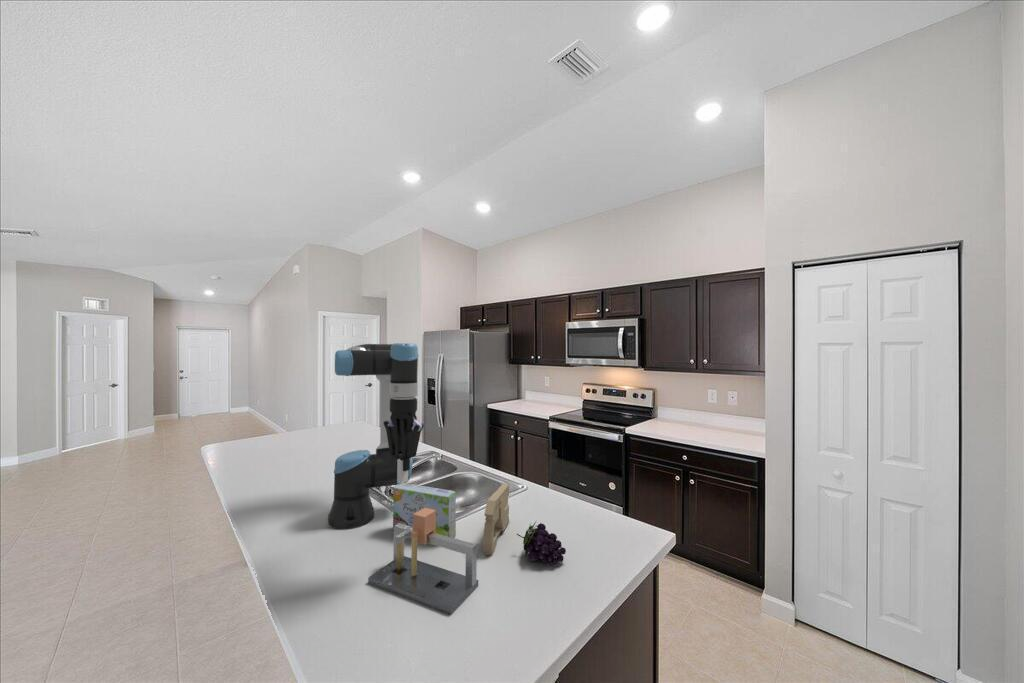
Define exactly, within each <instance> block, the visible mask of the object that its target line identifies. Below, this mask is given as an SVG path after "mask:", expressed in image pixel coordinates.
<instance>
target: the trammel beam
mask: <svg viewBox="0 0 1024 683" xmlns="http://www.w3.org/2000/svg"><path fill="white" fill-rule="evenodd" d="M411 532H413V527H411V526H408V525H404V524H400V523H398V524H397V525H395V526H394V532H393V556H392V557H393V560H394V561H397V574H398V575H400V574H402V559H404V556H405V540H407V539H408V538H409V539H412V537H411ZM427 544H428V545H434V546H436V547H440V548H443V549H445V550H450V551H454V552H457V553H461V554H464V555H465V576H466V579H465V584H466V585H469V586H473V585H474V584H475V583H476V579H477V569H478V568H477V566H478V565H477V562H478V560H477V558H478V556H477V554H478V552H477V551H478V550H477V549H478V548H477V546H478V545H477V544H476V543H473V542H468V541H465V540H461V539H458V538H456V537H455V538H451V537H448V536H444V535H440V534H437V533H433V532H430V533H429V534H427ZM393 560H392V561H393Z"/></svg>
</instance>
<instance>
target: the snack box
mask: <svg viewBox="0 0 1024 683" xmlns="http://www.w3.org/2000/svg"><path fill="white" fill-rule="evenodd" d="M392 490H393V491H392V494H393V495H392V532H393V533H394V526H395V525H397V524H398V523H400V524H404V525H408V526H411V527H413V514H414V513H416V512H418V511H420V510H421V509H423V508H428V509H433V510H436V529H435V533H437V534H440V535H444V536H448V537H451V538H455V539H456V535H457V534H456V531H457V530H456V527H457V526H456V523H457V521H456V520H457V516H456V514H457V513H456V512H457V511H456V510H457V509H456V508H457V507H456V506H457V503H456V502H457V493H456V492H457V491H455V490H449V489H443V488H439V487H438V488H436V487H431V486H425V485H419V484H412V483H408V482H407V483H402V484H399V485H394V486H393V488H392Z"/></svg>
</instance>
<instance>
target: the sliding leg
mask: <svg viewBox="0 0 1024 683" xmlns="http://www.w3.org/2000/svg"><path fill="white" fill-rule="evenodd" d="M435 529H436V510H433V509H428V508H423V509H421V510H420V511H418V512H416V513H414V514H413V532H411V537H412V538H411V558H412V559H411V575H413V576H415V575H416V574H417V560H418V544H421V545H424V546H425V545H426V544H428V543H427V534H429V533H430V532H433V533H435Z"/></svg>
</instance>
